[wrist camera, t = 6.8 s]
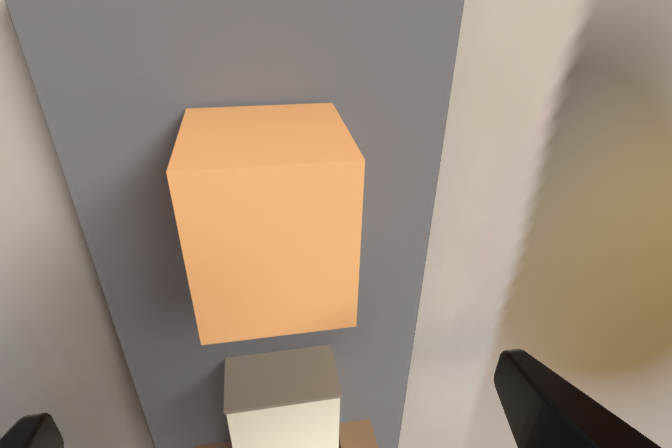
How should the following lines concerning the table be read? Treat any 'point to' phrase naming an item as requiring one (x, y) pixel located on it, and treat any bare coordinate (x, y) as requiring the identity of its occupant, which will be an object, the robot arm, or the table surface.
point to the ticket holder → (158, 213)
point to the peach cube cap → (268, 219)
